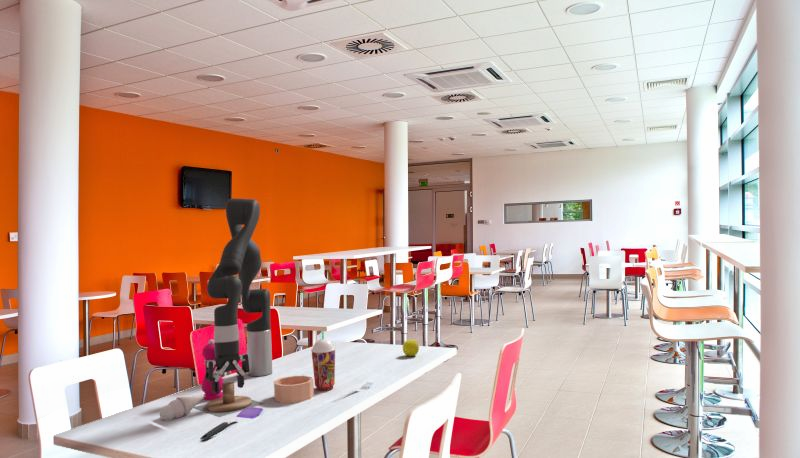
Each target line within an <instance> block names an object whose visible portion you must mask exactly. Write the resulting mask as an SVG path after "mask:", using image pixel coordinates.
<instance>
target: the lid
mask: <svg viewBox="0 0 800 458" xmlns="http://www.w3.org/2000/svg"><path fill="white" fill-rule="evenodd" d="M221 392H222V393H223V397H222V398H218V399H214V400H208V401H207V402H206V403H205V404H206V410H207V411H210V412H231V411H236V410H241V409H244V408H246V407H248V406H250V405H251V404H252V400H253V399H252V398H251V397H249V396H245V395H244V396H243V395H235V383H234V382H233V381H226V382H224V383H223V384H222V391H221Z"/></svg>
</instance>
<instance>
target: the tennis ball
mask: <svg viewBox="0 0 800 458" xmlns="http://www.w3.org/2000/svg"><path fill="white" fill-rule="evenodd" d="M419 350H420V347H419V343H418V342H417V341H416V340H414V339H407V340H406V341H404V342H403V344H402V352H403V353H404V355H405V356H407V357H414V356H416V355H418V353H419Z"/></svg>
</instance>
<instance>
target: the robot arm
mask: <svg viewBox="0 0 800 458" xmlns="http://www.w3.org/2000/svg"><path fill="white" fill-rule="evenodd" d="M260 207H261V206H260V203H259V202H258V200H256V199H252V198H230V199H228V200H227V201H226V204H225V216H226V221H227V224H228V229H229V232H230V236H231V239H230V240H229V241H228V242H227V243H226V245H225V246H224V248H223V250H222V254H221V257H220V260H219V264H218V265H217V267H216V268H215V270H214V272H213V273H212V275H211V276H210V278H209V280H208V282H207V285H206V292H207V295H208V296H209V297H210V298H212V299H214V300H218V299H227V302H226V304H224V305H221V306H217V307H216V308H214V311H213V314H214V315H213V317H214V318H213V319H214V320H213V321H214V322H213V323H214V330H213V340H214V347H215V360H214V361H206V365H205V373H204V376H205V379H206V380H208V381H211V382H212V392H214V394H219V382H218V380H219V378H220V376H223V374H224V373H228V372H233V371H234V372H235V373H236V374H237V375H236V378H237V379H236V380H237V384H236V385H237V387H238V388H240V389H241V388H243V387H244V386H245V375H246V374H248V376H249V377H262V376H267V375H270V374H272V373H273V354H272V353H273V352H272V351H273V350H272V349H273V348H272V331H271V330H272V327H271V326H272V325H271V293H270V290H269V289H267V288H258V289H257V288H255V289H250V287H251V285H252V282H253V281H254V279H256V277H257V275H258V274H259V272H260V271H261V268H262V263H263V262H262V258H261V257H262V255H261V250H260V248H259V246H258V245H257V243H255V241H254V240H253V239H252V237H253V235H254V232H255V230H256V227H257V225H258V223H259V220H260V215H261V209H260ZM236 275H238V276H236ZM240 301H241V306H242V311H244V313H245V314H255V313H256V314H258V313H259V314H261V316H260V317H258V318H257V319H254V320H252V321H250V322H248V323H246V343H247V344H246V346H247V349H246V353H241V354H240V334H239V333H240V331H239V325H238V324H239V323H238V308H239V302H240ZM239 362H241V365H239ZM214 365H216V366H217V367H216V369H215V370H214V374H213V368H214Z"/></svg>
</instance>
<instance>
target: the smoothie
mask: <svg viewBox="0 0 800 458" xmlns="http://www.w3.org/2000/svg"><path fill="white" fill-rule="evenodd" d="M324 334H325V333H324V330H321V338H320V339H318V340H317V341H315V342H314V344H313V346H312V349H311V357H312V358H311V359H312V368H313V369H312V370H313V377H314V379H313V381H314V386H315V387H316V390H317V391H320V392H321V391H322V392H325V391H326V392H327V391H331V390H332V389H334V386H335V381H336V380H335V379H336V378H335V376H336V375H335V374H336V347H335V346H334V343H333V342H332V341H331V340H329V339H327V338H325V335H324Z"/></svg>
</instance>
